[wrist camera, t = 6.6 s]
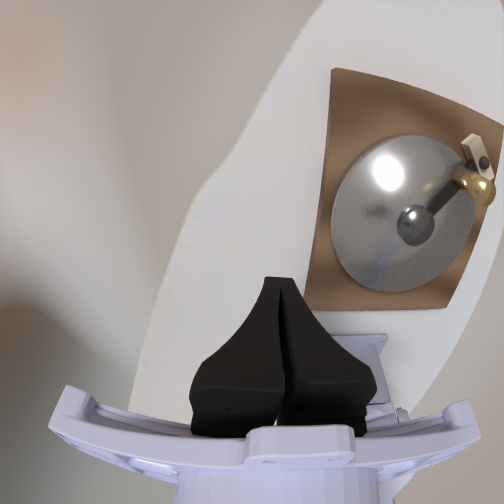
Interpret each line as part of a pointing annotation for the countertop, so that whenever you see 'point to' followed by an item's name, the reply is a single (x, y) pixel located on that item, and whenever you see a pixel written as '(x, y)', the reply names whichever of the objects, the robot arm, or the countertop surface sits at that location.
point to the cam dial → (404, 211)
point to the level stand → (364, 135)
